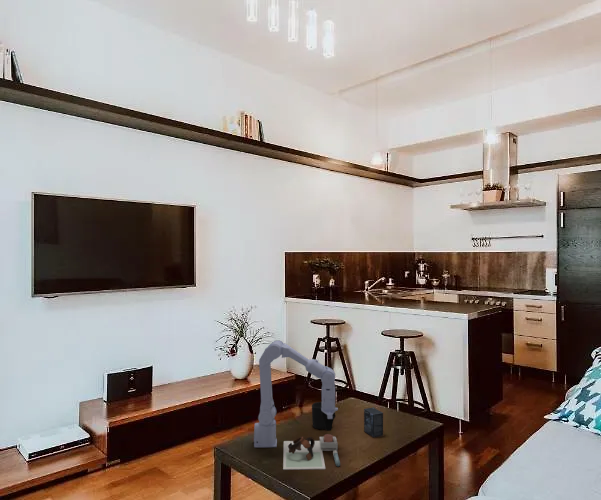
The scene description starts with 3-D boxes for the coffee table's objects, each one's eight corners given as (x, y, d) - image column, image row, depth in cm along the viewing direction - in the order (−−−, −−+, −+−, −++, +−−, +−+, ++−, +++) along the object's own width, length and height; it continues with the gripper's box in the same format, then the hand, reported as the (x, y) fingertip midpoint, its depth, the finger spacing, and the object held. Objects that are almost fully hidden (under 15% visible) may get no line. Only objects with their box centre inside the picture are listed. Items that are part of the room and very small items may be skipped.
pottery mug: (305, 465, 173) (295, 445, 174) (291, 468, 179) (281, 449, 180) (324, 447, 181) (314, 429, 183) (310, 451, 188) (300, 433, 189)
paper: (283, 469, 168) (283, 468, 168) (283, 441, 194) (283, 441, 194) (325, 469, 169) (325, 468, 169) (320, 441, 195) (320, 440, 195)
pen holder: (335, 425, 214) (334, 404, 215) (325, 431, 207) (325, 409, 207) (318, 421, 219) (318, 400, 220) (308, 427, 212) (308, 406, 212)
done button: (324, 445, 187) (324, 437, 187) (323, 441, 191) (323, 434, 191) (333, 445, 187) (333, 437, 187) (332, 441, 191) (332, 434, 191)
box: (363, 431, 206) (363, 408, 206) (374, 429, 208) (374, 407, 209) (372, 437, 199) (372, 414, 199) (383, 436, 201) (383, 412, 201)
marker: (335, 466, 171) (335, 461, 171) (332, 455, 181) (332, 450, 181) (340, 466, 171) (340, 461, 171) (337, 455, 181) (337, 450, 181)
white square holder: (320, 450, 185) (320, 443, 186) (319, 443, 192) (319, 436, 193) (337, 450, 186) (337, 443, 186) (335, 443, 193) (335, 436, 193)
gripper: (339, 403, 182) (339, 436, 182) (335, 392, 197) (336, 423, 197) (322, 403, 182) (322, 437, 182) (319, 393, 197) (320, 424, 196)
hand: (328, 430), depth 189 cm, fingers closed
